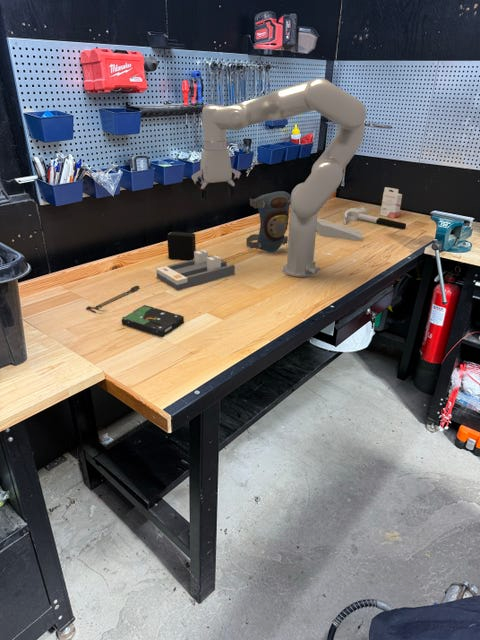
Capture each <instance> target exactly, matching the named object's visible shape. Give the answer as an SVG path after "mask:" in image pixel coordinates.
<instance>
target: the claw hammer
mask: <svg viewBox="0 0 480 640" xmlns="http://www.w3.org/2000/svg"><path fill="white" fill-rule="evenodd" d="M367 211H368V210H367V209H366V208H365V207H360V208H355V207H351V208H349V209H347V210H346V211H344V218H343V224H344V226H347V222H351V221H353V222H355V221H359V220H362V221H366V222H371V223H375V224H378V225H381V226H385V227H390V228H394V229H399V230H406V227H407V223H406V222H401V221H397V220H396V221H395V220H393V219H387V218H383V217H376V216H373V215H369V214H367V213H368V212H367Z"/></svg>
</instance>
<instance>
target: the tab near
mask: <svg viewBox="0 0 480 640" xmlns="http://www.w3.org/2000/svg"><path fill="white" fill-rule="evenodd" d="M210 255H211V254H210ZM212 255H213V254H212ZM212 255H211V257H208V258H207V271H210V270H213V269H217V268H221V259H222V257H220V256H218V255H213V256H212Z"/></svg>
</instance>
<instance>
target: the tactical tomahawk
mask: <svg viewBox="0 0 480 640" xmlns="http://www.w3.org/2000/svg"><path fill="white" fill-rule="evenodd" d="M139 288H140V285H134V286H132V287H131V288H130V289H129V290H127V291H125V292H122V293H120V294H118V295H116V296H113V297H111V298H110V299H107V300H106V301H104V302H101V303H99V304H97V305H96V306H95V307H92V306H89V305H88V306H87V307H86V311H90V312H91V313H94V314H96V313H97V311H102V310H101V309H102V308H103V307H104V306H106V305H108V304H112V303H113V302H115V301H117V300H119V299H122V298H124V297H127V296H128V295H130V294H133V293H134V292H135V291H136V290H139ZM95 310H97V311H95Z"/></svg>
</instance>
